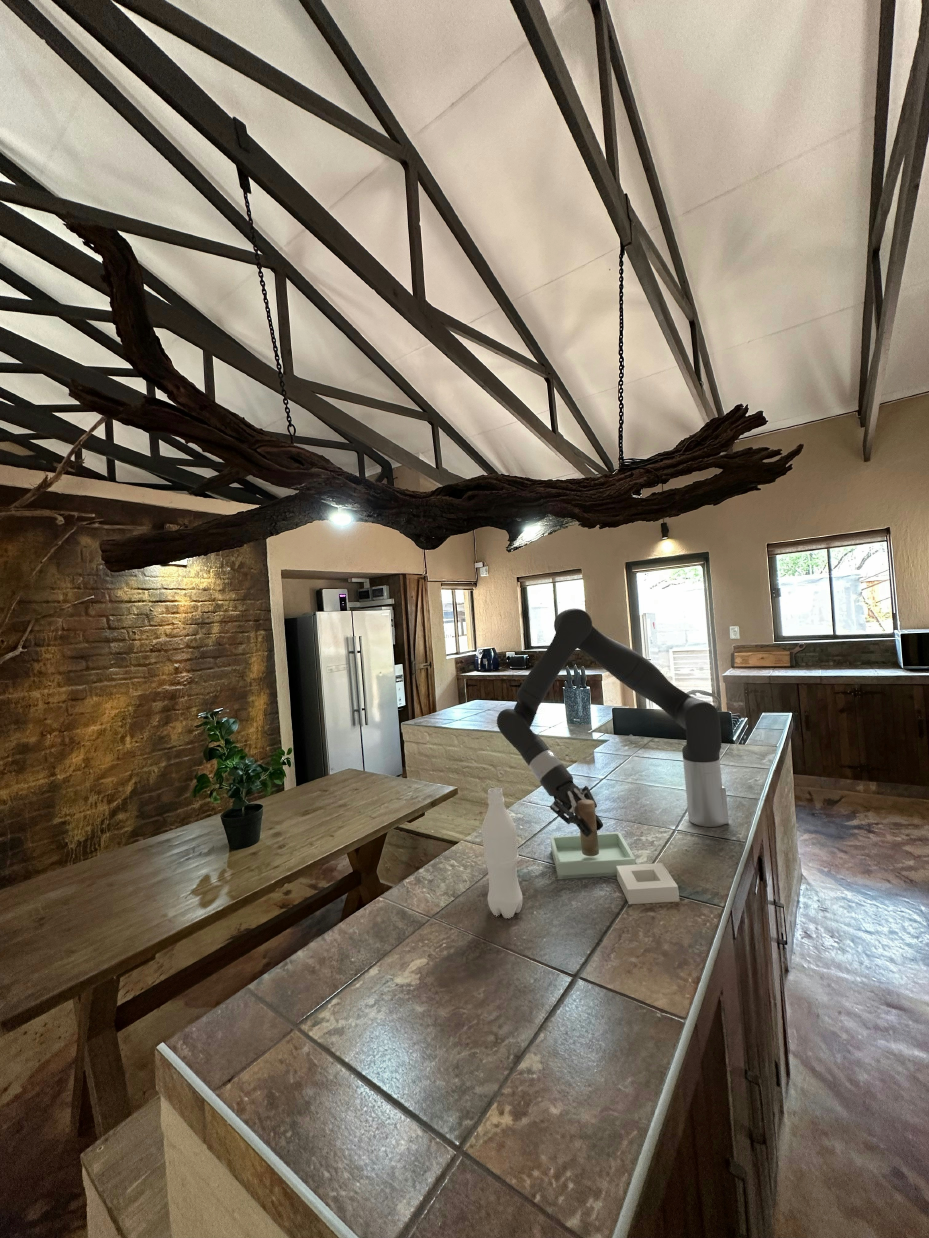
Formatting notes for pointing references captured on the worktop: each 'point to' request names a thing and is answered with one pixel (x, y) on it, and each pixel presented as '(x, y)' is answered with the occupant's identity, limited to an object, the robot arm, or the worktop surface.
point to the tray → (583, 866)
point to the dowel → (588, 814)
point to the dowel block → (647, 883)
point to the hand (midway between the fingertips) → (595, 831)
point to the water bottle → (501, 857)
